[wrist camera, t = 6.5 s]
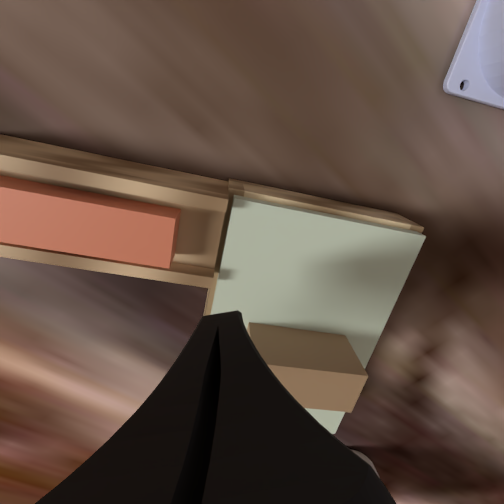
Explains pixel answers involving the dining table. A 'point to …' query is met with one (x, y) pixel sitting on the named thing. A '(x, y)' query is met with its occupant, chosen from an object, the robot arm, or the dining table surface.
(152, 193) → the key channel
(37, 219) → the salmon orange bar
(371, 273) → the pale green plate
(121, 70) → the dining table surface
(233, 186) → the wooden box
